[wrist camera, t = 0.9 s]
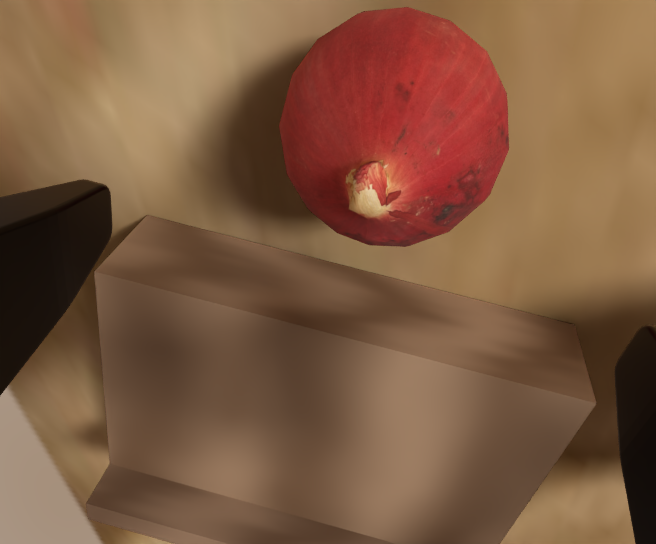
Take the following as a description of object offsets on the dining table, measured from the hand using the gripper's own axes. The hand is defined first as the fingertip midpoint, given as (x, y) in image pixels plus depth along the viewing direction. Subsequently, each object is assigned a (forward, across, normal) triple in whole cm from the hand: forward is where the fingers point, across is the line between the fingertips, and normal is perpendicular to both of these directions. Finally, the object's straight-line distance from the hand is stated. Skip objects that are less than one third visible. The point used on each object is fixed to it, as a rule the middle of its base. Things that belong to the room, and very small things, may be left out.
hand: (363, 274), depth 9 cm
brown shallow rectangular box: (+10, 0, +13) cm, 17 cm away
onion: (+10, 0, 0) cm, 10 cm away
